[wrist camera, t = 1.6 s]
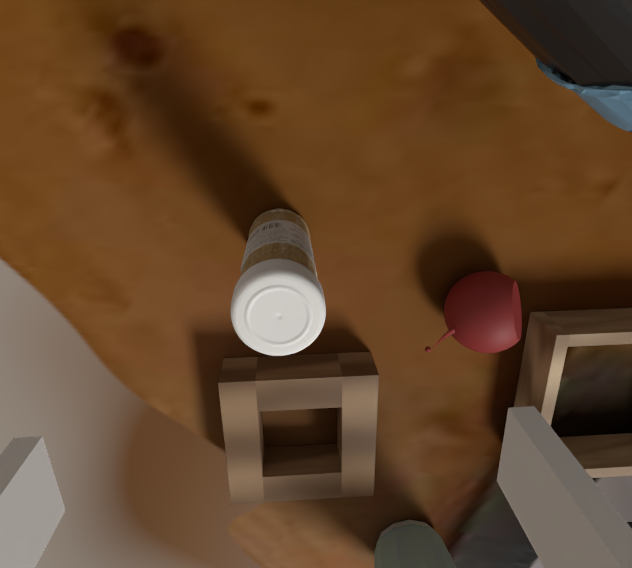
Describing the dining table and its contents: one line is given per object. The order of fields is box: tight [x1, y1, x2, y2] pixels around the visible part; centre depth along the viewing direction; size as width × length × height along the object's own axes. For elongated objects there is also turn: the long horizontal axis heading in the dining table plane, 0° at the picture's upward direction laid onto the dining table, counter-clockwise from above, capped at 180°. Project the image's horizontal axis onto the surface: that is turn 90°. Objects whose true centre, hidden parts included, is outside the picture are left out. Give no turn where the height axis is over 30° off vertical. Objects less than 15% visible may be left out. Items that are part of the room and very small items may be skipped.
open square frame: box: [514, 308, 632, 478], centre depth 39 cm, size 14×14×4 cm
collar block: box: [218, 352, 379, 505], centre depth 39 cm, size 12×12×4 cm
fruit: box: [425, 271, 522, 353], centre depth 35 cm, size 6×6×8 cm
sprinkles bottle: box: [231, 208, 326, 356], centre depth 28 cm, size 5×5×13 cm
